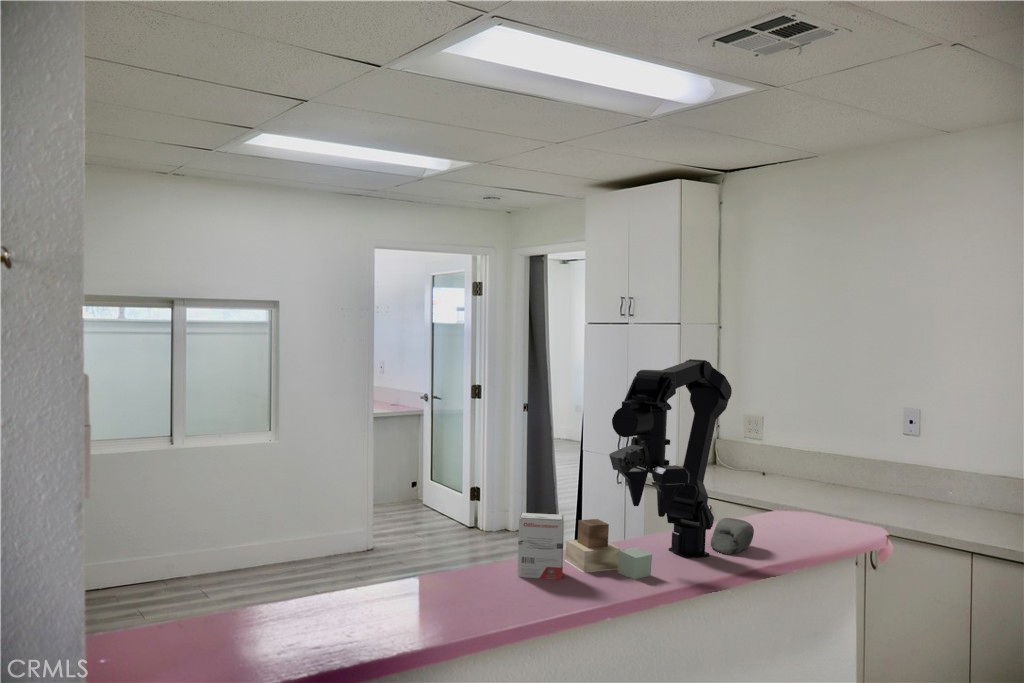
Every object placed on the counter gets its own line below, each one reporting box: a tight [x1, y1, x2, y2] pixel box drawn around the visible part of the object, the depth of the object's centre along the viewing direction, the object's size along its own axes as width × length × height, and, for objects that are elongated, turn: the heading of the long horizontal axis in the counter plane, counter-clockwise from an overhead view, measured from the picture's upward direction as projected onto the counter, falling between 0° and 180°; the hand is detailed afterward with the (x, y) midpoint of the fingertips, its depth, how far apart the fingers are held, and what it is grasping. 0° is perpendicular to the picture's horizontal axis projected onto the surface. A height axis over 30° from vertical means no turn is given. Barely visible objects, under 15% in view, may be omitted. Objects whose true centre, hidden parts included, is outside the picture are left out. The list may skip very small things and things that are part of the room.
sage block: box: [617, 546, 653, 580], centre depth 153 cm, size 4×4×4 cm
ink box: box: [517, 512, 565, 581], centre depth 150 cm, size 9×5×12 cm, turn 84°
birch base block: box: [564, 539, 621, 573], centre depth 158 cm, size 8×8×4 cm
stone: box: [710, 517, 755, 556], centre depth 175 cm, size 9×9×10 cm
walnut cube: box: [577, 518, 610, 548], centre depth 158 cm, size 4×4×4 cm
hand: (648, 511), depth 156 cm, fingers open, 9 cm apart
